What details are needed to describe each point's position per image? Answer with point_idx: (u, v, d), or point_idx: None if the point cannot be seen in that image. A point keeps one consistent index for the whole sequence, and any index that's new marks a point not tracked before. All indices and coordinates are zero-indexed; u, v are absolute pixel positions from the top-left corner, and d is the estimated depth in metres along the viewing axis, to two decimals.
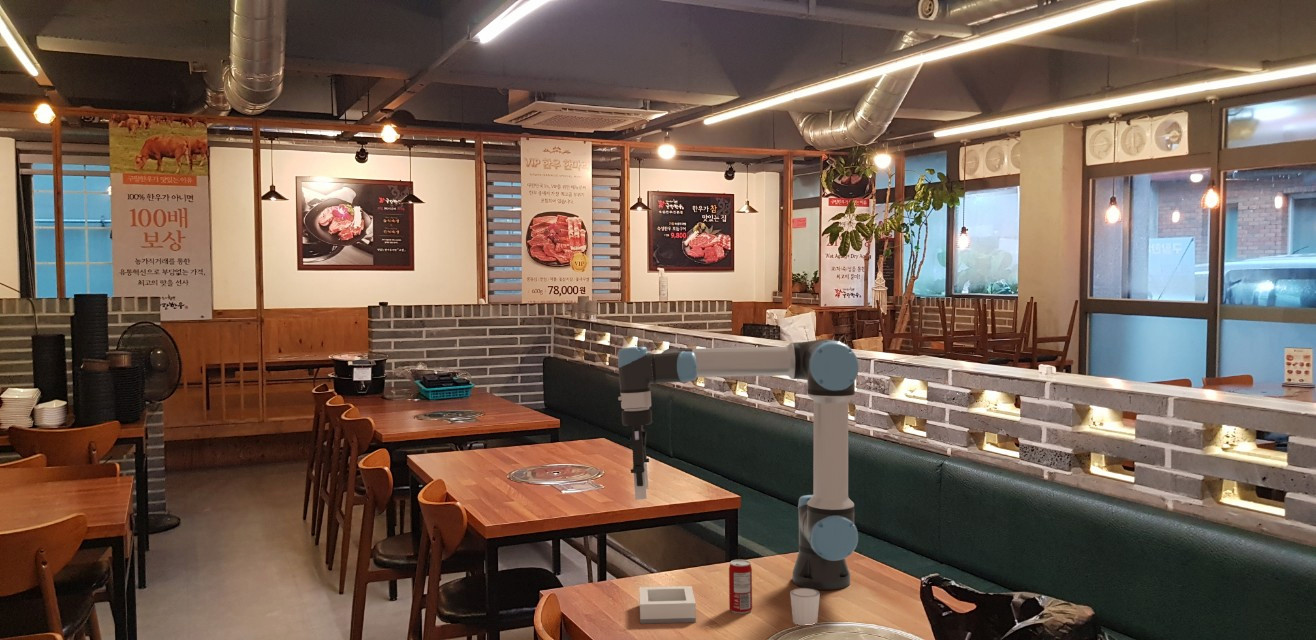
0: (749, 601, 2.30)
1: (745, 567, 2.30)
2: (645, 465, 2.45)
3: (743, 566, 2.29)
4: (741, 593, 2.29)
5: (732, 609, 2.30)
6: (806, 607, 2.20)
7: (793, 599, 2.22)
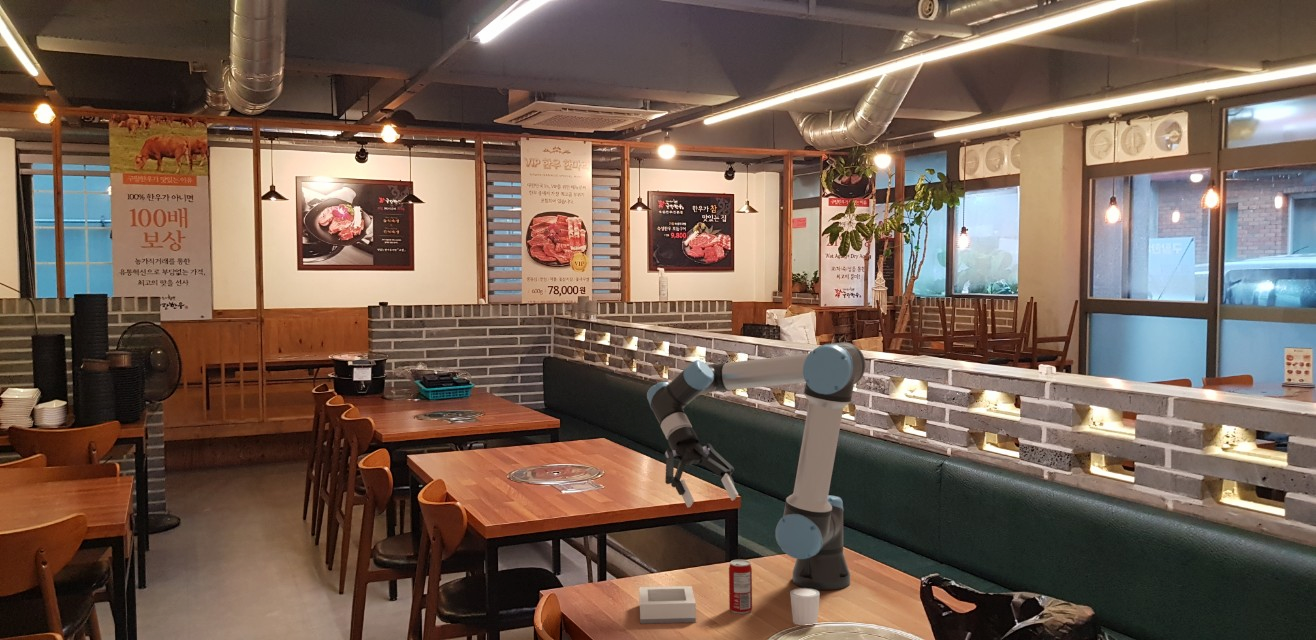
0: (749, 601, 2.30)
1: (745, 567, 2.30)
2: (725, 476, 2.47)
3: (743, 566, 2.29)
4: (741, 593, 2.29)
5: (732, 609, 2.30)
6: (806, 607, 2.20)
7: (793, 599, 2.22)
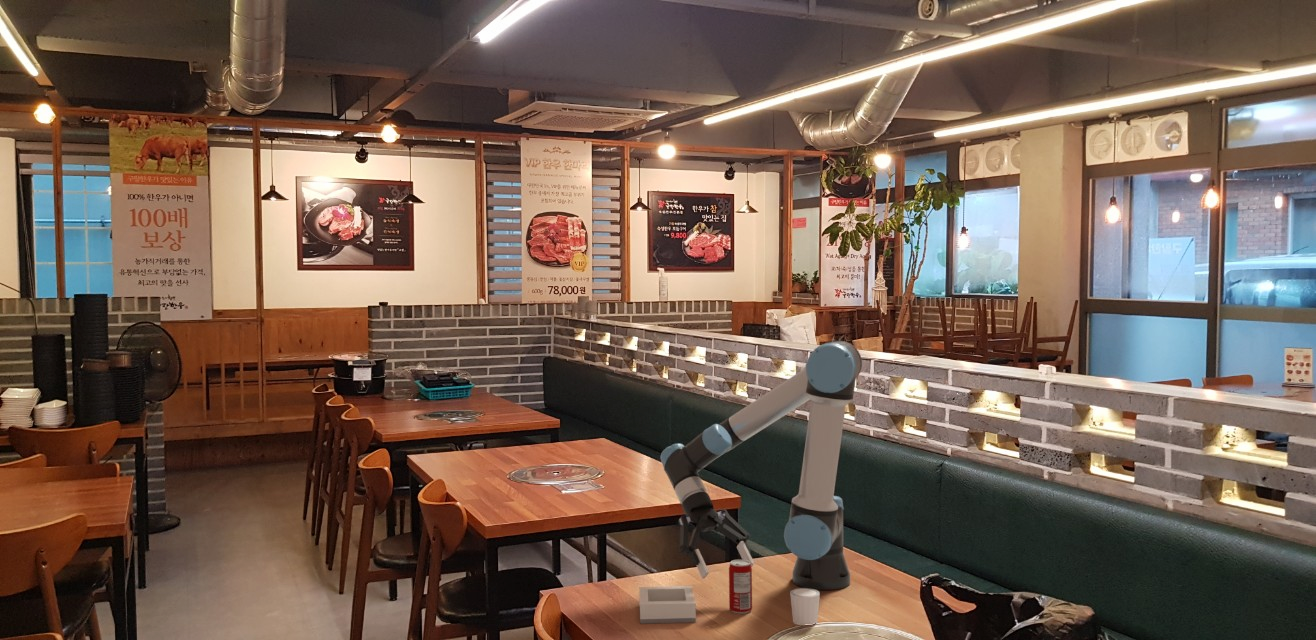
0: (749, 601, 2.30)
1: (745, 567, 2.30)
2: (740, 543, 2.41)
3: (743, 566, 2.29)
4: (741, 593, 2.29)
5: (732, 609, 2.30)
6: (806, 607, 2.20)
7: (793, 599, 2.22)
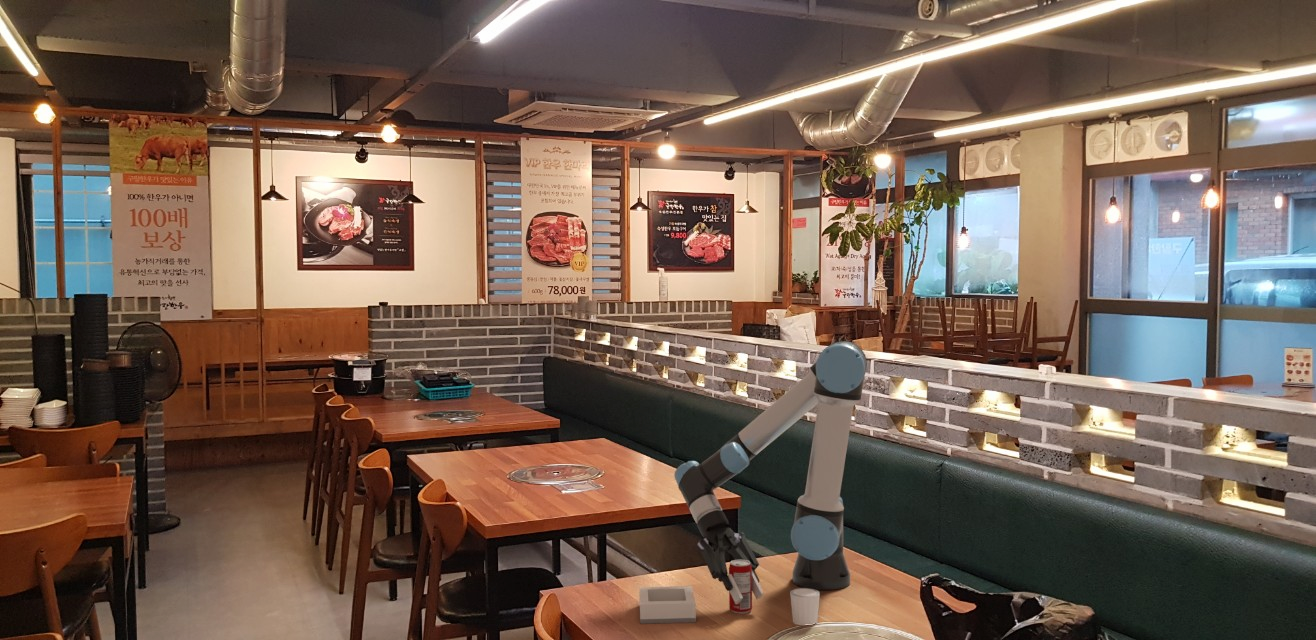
0: (749, 601, 2.30)
1: (745, 567, 2.30)
2: None
3: (743, 566, 2.29)
4: (741, 593, 2.29)
5: (732, 609, 2.30)
6: (806, 607, 2.20)
7: (793, 599, 2.22)
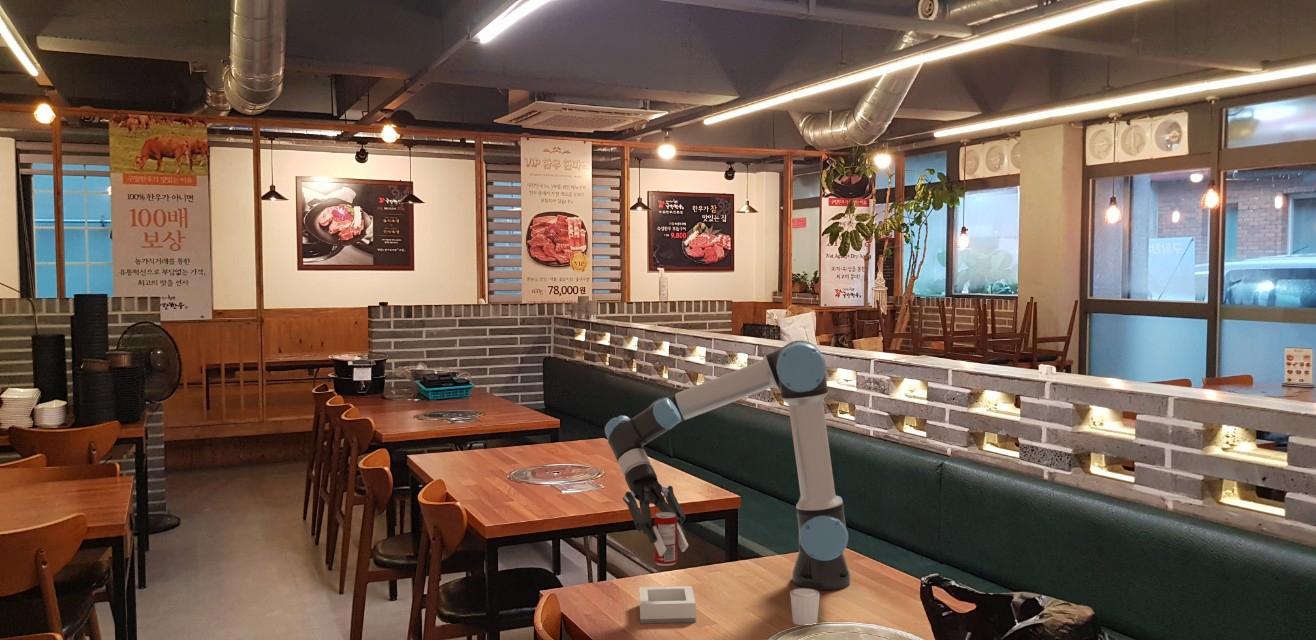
0: (674, 553, 2.28)
1: (670, 519, 2.28)
2: None
3: (667, 518, 2.28)
4: (665, 545, 2.27)
5: (657, 561, 2.29)
6: (806, 607, 2.20)
7: (793, 599, 2.22)
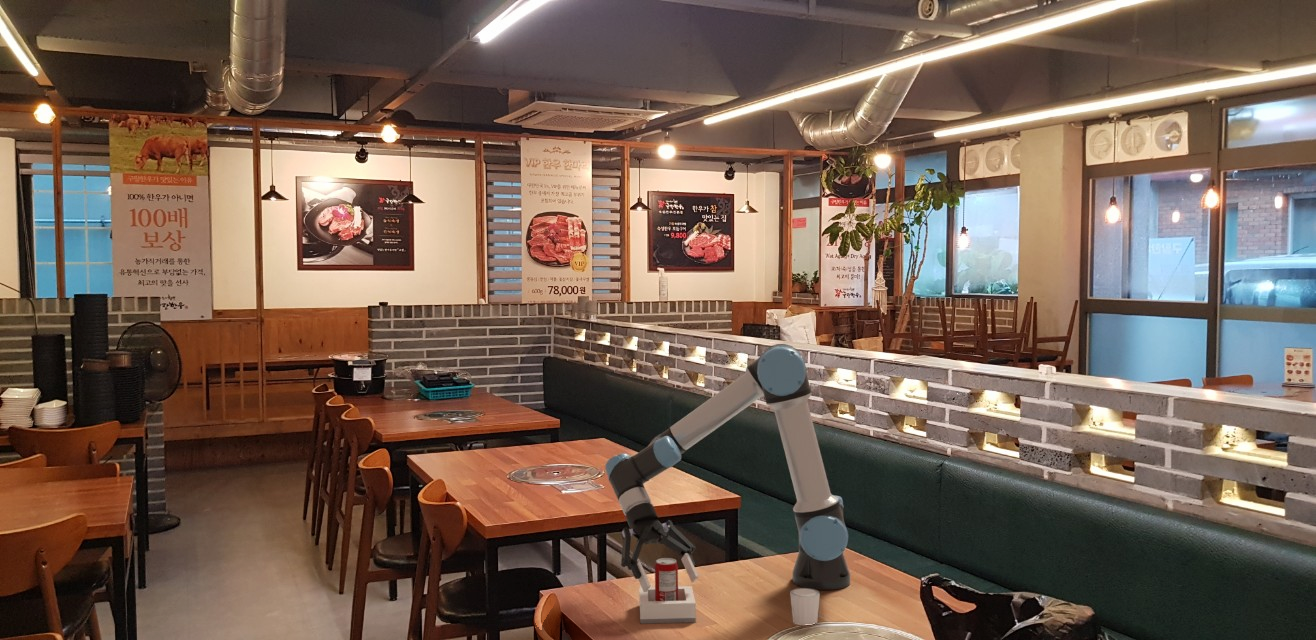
0: (675, 600, 2.29)
1: (671, 565, 2.28)
2: (685, 555, 2.35)
3: (668, 564, 2.28)
4: (666, 591, 2.28)
5: None
6: (806, 607, 2.20)
7: (793, 599, 2.22)
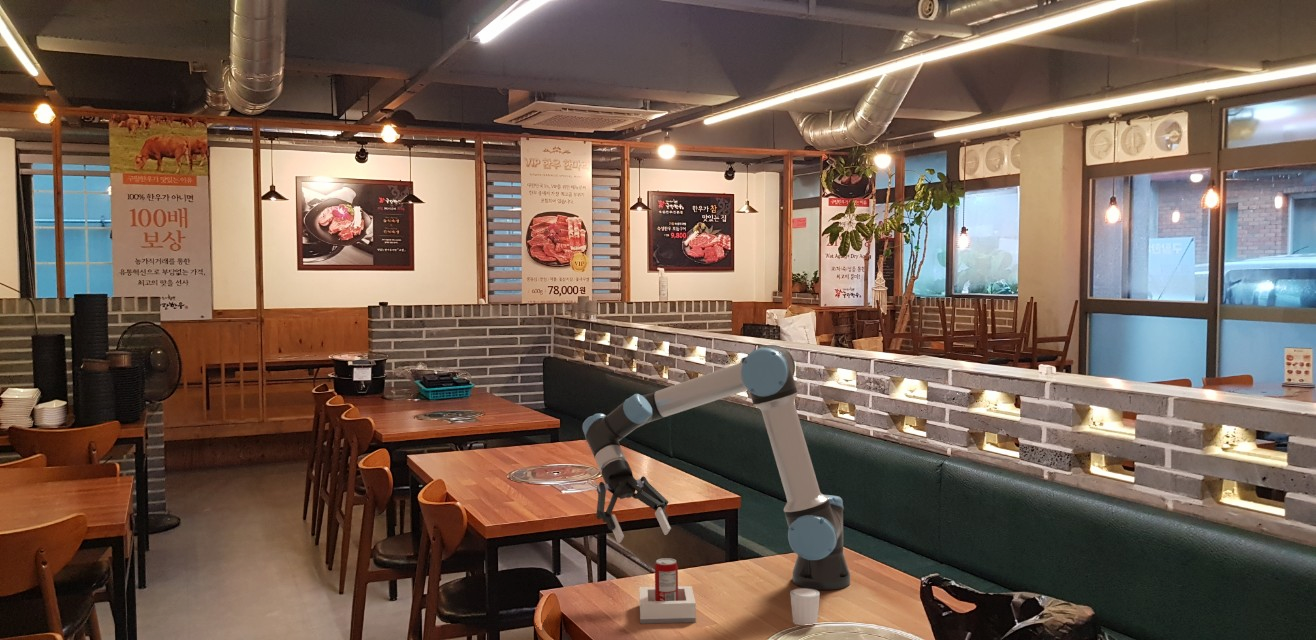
0: (675, 600, 2.29)
1: (671, 565, 2.28)
2: (658, 509, 2.44)
3: (668, 565, 2.28)
4: (666, 592, 2.28)
5: None
6: (806, 607, 2.20)
7: (793, 599, 2.22)
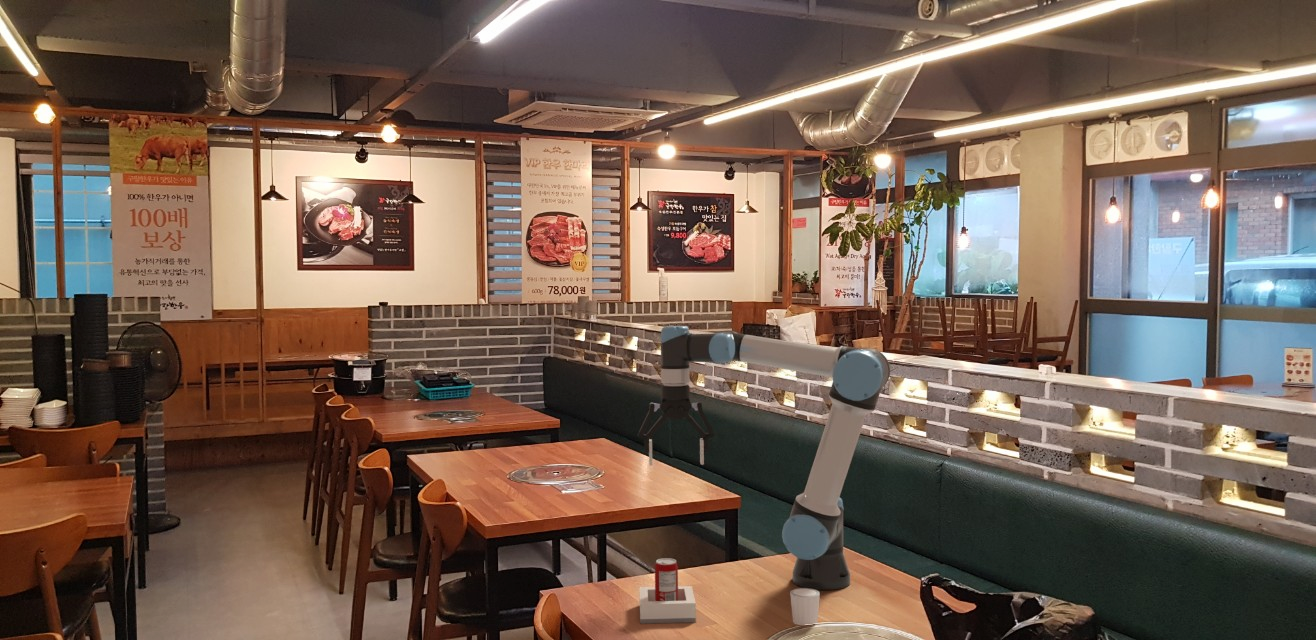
0: (675, 600, 2.29)
1: (671, 565, 2.28)
2: (700, 441, 2.53)
3: (668, 565, 2.28)
4: (666, 592, 2.28)
5: None
6: (806, 607, 2.20)
7: (793, 599, 2.22)
